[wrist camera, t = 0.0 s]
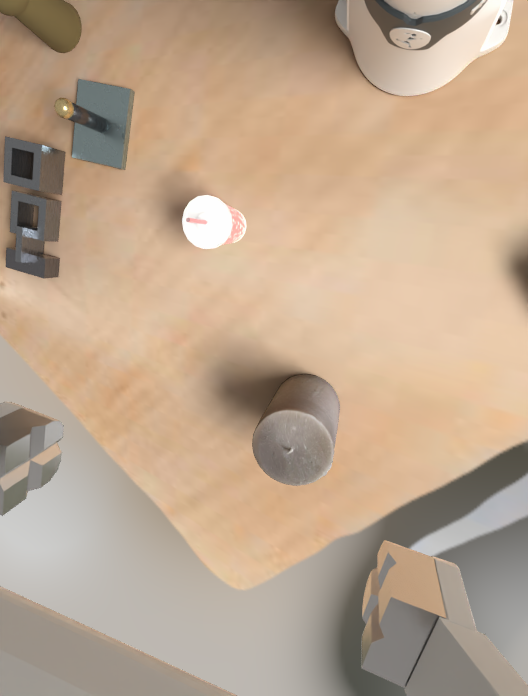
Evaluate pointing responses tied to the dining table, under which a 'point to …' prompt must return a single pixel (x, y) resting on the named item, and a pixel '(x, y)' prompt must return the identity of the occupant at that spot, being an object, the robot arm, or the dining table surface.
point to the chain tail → (33, 234)
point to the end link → (33, 166)
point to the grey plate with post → (99, 122)
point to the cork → (47, 21)
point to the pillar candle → (298, 431)
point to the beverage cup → (212, 222)
